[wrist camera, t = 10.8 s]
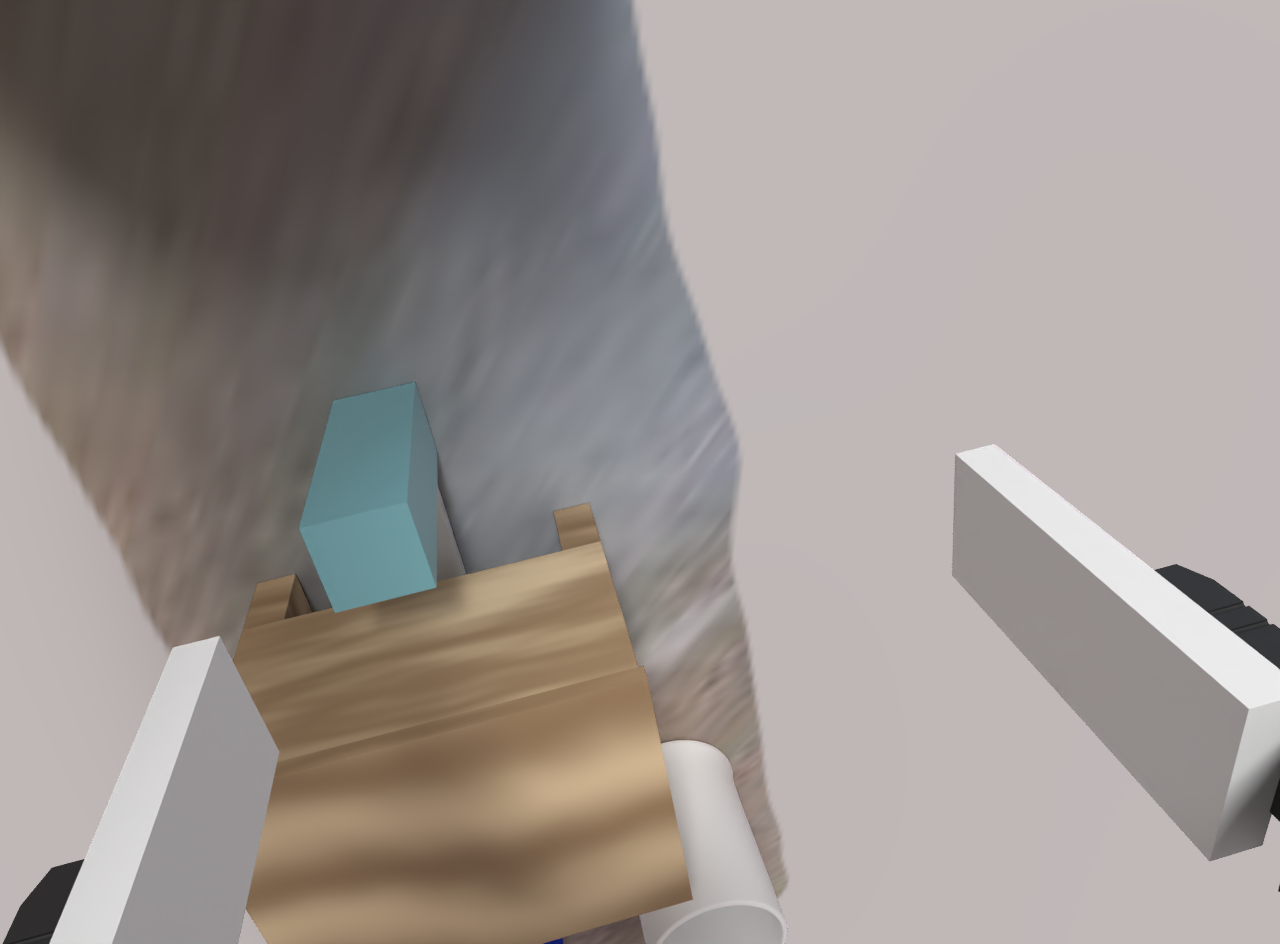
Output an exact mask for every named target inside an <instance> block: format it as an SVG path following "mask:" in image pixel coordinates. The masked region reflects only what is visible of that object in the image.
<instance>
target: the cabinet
mask: <svg viewBox="0 0 1280 944" xmlns="http://www.w3.org/2000/svg"><path fill="white" fill-rule="evenodd" d="M553 512H554V516H555V521H556V525H557V529H558V534H559V538H560V543H561V547H562V551H559V552H555V553H551V554H547V555H543V556H539V557H535V558H531V559H527V560H523V561H519V562H515V563H511V564H507V565H503V566H499V567H495V568H491V569H487V570H483V571H479V572H475V573H471V574H466V575H462V576H458V577H454V578H450V579H446V580H442V581H438V582H437V588H433V589H429V590H425V591H421V592H417V593H413V594H409V595H405V596H401V597H397V598H393V599H389V600H385V601H381V602H377V603H373V604H369V605H365V606H361V607H357V608H353V609H349V610H345V611H341V612H337V613H335V612H334V610H333V608H329V609H325V610H321V611H317V612H312V610H311V608H310V606H309V603H308V601H307V599H306V597H305V594H304V592H303V590H302V587H301V585H300V583H299V581H298V578H297V576H296V574H293V575H289V576H285V577H281V578H277V579H273V580H268V581H264V582H260V583H257V586H256V589H255V593H254V596H253V599H252V602H251V605H250V608H249V612H248V615H247V618H246V621H245V624H244V627H243V630H242V634H241V637H240V640H239V643H238V646H237V649H236V653H235V656H234V659H233V663H234V665H235V667H236V669H237V670H238V672H239V674H240V676H241V678H242V680H243V682H244V684H245V686H246V688H247V690H248V692H249V694H250V696H251V698H252V700H253V702H254V703H255V705H256V707H257V709H258V711H259V713H260V715H261V717H262V719H263V721H264V723H265V725H266V727H267V729H268V731H269V733H270V734H271V736H272V738H273V740H274V742H275V744H276V746H277V748H278V750H279V756H278V761H277V765H276V770H275V774H274V779H273V784H272V788H271V793H270V798H269V802H268V807H267V811H266V816H265V821H264V825H263V830H262V835H261V839H260V844H259V849H258V853H257V858H256V862H255V867H254V872H253V876H252V881H251V886H250V890H249V895H248V900H247V904H246V910H247V912H248V913H249V914H250V916H251V918H252V920H253V921H254V923H255V924H256V926H257V927H258V929H259V931H260V932H261V934H262V935H263V937H264V939H265V940H266V942H267V944H543V943H546V942H550V941H553V940H556V939H560V938H563V937H567V936H570V935H574V934H577V933H580V932H584V931H587V930H591V929H594V928H598V927H601V926H604V925H608V924H611V923H615V922H618V921H622V920H625V919H628V918H632V917H635V916H639V915H642V914H646V913H649V912H652V911H656V910H659V909H663V908H666V907H670V906H673V905H676V904H680V903H683V902H687V901H690V900H693V897H692V892H691V887H690V883H689V878H688V873H687V868H686V863H685V858H684V854H683V849H682V844H681V839H680V834H679V829H678V824H677V820H676V815H675V810H674V805H673V800H672V795H671V790H670V786H669V781H668V776H667V771H666V766H665V761H664V757H663V752H662V747H661V742H660V737H659V732H658V727H657V723H656V718H655V713H654V708H653V703H652V698H651V693H650V689H649V684H648V679H647V676H646V672H645V669H644V666H640V667H638V664H637V661H636V657H635V654H634V651H633V647H632V644H631V641H630V637H629V634H628V631H627V627H626V624H625V621H624V617H623V614H622V611H621V607H620V604H619V601H618V597H617V594H616V591H615V587H614V584H613V581H612V577H611V574H610V571H609V567H608V564H607V561H606V557H605V554H604V551H603V547H602V544H601V541H600V537H599V534H598V531H597V527H596V524H595V521H594V517H593V514H592V511H591V507H590V504H589V503H585V504H581V505H577V506H573V507H569V508H565V509H561V510H557V511H553Z"/></svg>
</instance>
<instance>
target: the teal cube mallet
mask: <svg viewBox="0 0 1280 944" xmlns="http://www.w3.org/2000/svg"><path fill="white" fill-rule="evenodd" d="M437 459H438V453H437V449H436V446H435V443H434V440H433V437H432V434H431V430H430V427H429V424H428V421H427V418H426V415H425V411H424V408H423V405H422V402H421V399H420V396H419V392H418V389H417V386H416V383H415V382H413V383H408V384H404V385H400V386H395V387H391V388H386V389H382V390H378V391H373V392H369V393H364V394H360V395H356V396H351V397H347V398H342V399H338V400H334V401H333V404H332V408H331V411H330V415H329V419H328V422H327V426H326V430H325V433H324V437H323V441H322V444H321V448H320V452H319V455H318V459H317V463H316V466H315V470H314V474H313V477H312V481H311V485H310V488H309V492H308V496H307V499H306V503H305V507H304V510H303V514H302V518H301V521H300V525H299V530H300V533H301V535H302V537H303V540H304V542H305V544H306V547H307V549H308V551H309V554H310V556H311V558H312V561H313V563H314V566H315V568H316V570H317V573H318V575H319V577H320V580H321V582H322V584H323V587H324V589H325V591H326V594H327V596H328V598H329V601H330V603H331V605H332V608H333V610H334V612H335V613H337V612H341V611H345V610H349V609H353V608H357V607H361V606H365V605H369V604H373V603H377V602H381V601H385V600H389V599H393V598H397V597H401V596H405V595H409V594H413V593H417V592H421V591H425V590H429V589H433V588H437V582H438V581H442V580H446V579H450V578H454V577H458V576H462V575H466V571H465V568H464V565H463V562H462V559H461V556H460V553H459V550H458V547H457V544H456V540H455V537H454V534H453V531H452V528H451V525H450V522H449V519H448V516H447V513H446V509H445V506H444V503H443V500H442V497H441V494H440V491H439V488H438V485H437Z"/></svg>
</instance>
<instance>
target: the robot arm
mask: <svg viewBox="0 0 1280 944" xmlns="http://www.w3.org/2000/svg"><path fill="white" fill-rule="evenodd" d="M953 526H954V527H953V565H952V566H953V567H952V568H953V569H952V575H953V577H954V578H955V579H956V580H957V581H958V582H959V583H960V585H961V586H962V587H963V588H964V589H965V590H966V591H967V592H968V593H969V595H971V597H972V598H973V599H974V600H975V601H976V602H977V603H978V604H979V606H980V607H981V608H982V609H983V610H984V611H985V612H986V613H987V615H988V616H989V617H990V618H991V619H992V620H993V621H994V622H995V623H996V624H997V626H998V627H999V628H1000V629H1001V630H1002V631H1003V632H1004V633H1005V634H1006V636H1007V637H1008V638H1009V639H1010V640H1011V641H1012V642H1013V643H1014V644H1015V646H1016V647H1017V648H1018V649H1019V650H1020V651H1021V652H1022V653H1023V655H1024V656H1025V657H1026V658H1027V659H1028V660H1029V661H1030V662H1031V663H1032V664H1033V665H1034V667H1035V668H1036V669H1037V670H1038V671H1039V672H1040V673H1041V674H1042V676H1043V677H1044V678H1045V679H1046V680H1047V681H1048V682H1049V683H1050V685H1051V686H1052V687H1053V688H1054V689H1055V690H1056V691H1057V692H1058V693H1059V694H1060V695H1061V697H1062V698H1063V699H1064V700H1065V701H1066V702H1067V703H1068V705H1069V706H1070V707H1071V708H1072V709H1073V710H1074V711H1075V712H1076V713H1077V715H1078V716H1079V717H1080V718H1081V719H1082V720H1083V721H1084V722H1085V723H1086V725H1088V727H1089V728H1090V729H1091V730H1092V731H1093V732H1094V733H1095V734H1096V736H1097V737H1098V738H1099V739H1100V740H1101V741H1102V742H1103V743H1104V745H1105V746H1106V747H1107V748H1108V749H1109V750H1110V751H1111V752H1112V753H1113V755H1114V756H1115V757H1116V758H1117V759H1118V760H1119V761H1120V762H1121V763H1122V765H1123V766H1124V767H1125V768H1126V769H1127V770H1128V771H1129V772H1130V773H1131V775H1132V776H1133V777H1134V778H1135V779H1136V780H1137V781H1138V782H1139V783H1140V784H1141V786H1142V787H1143V788H1144V789H1145V790H1146V791H1147V792H1148V793H1149V794H1150V796H1151V797H1152V798H1153V799H1154V800H1155V801H1156V802H1157V803H1158V804H1159V806H1160V807H1161V808H1162V809H1163V810H1164V811H1165V812H1166V813H1167V814H1168V815H1169V817H1170V818H1171V819H1172V820H1173V821H1174V822H1175V823H1176V825H1177V826H1178V827H1179V828H1180V829H1181V830H1182V831H1183V832H1184V833H1185V835H1186V836H1187V837H1188V838H1189V839H1190V840H1191V841H1192V842H1193V843H1194V845H1195V846H1196V847H1197V848H1198V849H1199V850H1200V851H1201V852H1202V853H1203V854H1204V856H1205V857H1206V858H1207V859H1208V860H1209V861H1212V860H1215V859H1219V858H1222V857H1226V856H1229V855H1232V854H1235V853H1238V852H1242V851H1245V850H1248V849H1252V848H1255V847H1258V846H1261V845H1262V844H1263V841H1264V838H1265V834H1266V831H1267V828H1268V824H1269V821H1270V818H1271V814H1272V815H1274V816H1275V817H1276V818H1277V819H1278V820H1279V821H1280V628H1278V627H1277V626H1276V625H1274V624H1271V625H1270V624H1268V622H1267V619H1266V618H1265V617H1263V616H1262V615H1261V614H1259V613H1258V612H1257V611H1255V610H1254V609H1253V608H1251V607H1250V606H1247V607H1245V605H1244V604H1243V601H1242V600H1240V599H1239V598H1238V597H1236V596H1235V595H1234V594H1232V593H1231V592H1229V591H1228V590H1227V589H1226V588H1224V587H1223V586H1221V585H1220V584H1219V583H1217V582H1216V581H1215V580H1213V579H1211V578H1208V577H1205V576H1203V575H1201V574H1199V573H1196V572H1194V571H1191V570H1189V569H1187V568H1184V567H1182V566H1179V565H1177V564H1175V565H1171V566H1168V567H1164V568H1160V569H1156V570H1153V569H1152V568H1151V567H1149V566H1148V565H1147V564H1145V563H1144V562H1143V561H1142V560H1141V559H1139V558H1138V557H1137V556H1135V555H1134V554H1133V553H1132V552H1130V551H1129V550H1128V549H1127V548H1125V547H1124V546H1123V545H1122V544H1120V543H1119V542H1118V541H1116V540H1115V539H1114V538H1113V537H1111V536H1110V535H1109V534H1107V533H1106V532H1105V531H1104V530H1103V529H1101V528H1100V527H1099V526H1098V525H1096V524H1095V523H1094V522H1092V521H1091V520H1090V519H1089V518H1087V517H1086V516H1085V515H1084V514H1082V513H1081V512H1079V510H1077V509H1076V508H1075V507H1073V506H1072V505H1071V504H1069V503H1068V502H1067V501H1066V500H1065V499H1063V498H1062V497H1061V496H1060V495H1058V494H1057V493H1056V492H1054V491H1053V490H1052V489H1051V488H1049V487H1048V486H1047V485H1046V484H1044V483H1043V482H1042V481H1040V480H1039V479H1038V478H1037V477H1035V476H1034V475H1033V474H1032V473H1030V472H1029V471H1028V470H1027V469H1025V468H1024V467H1023V466H1022V465H1020V464H1019V463H1018V462H1016V461H1015V460H1014V459H1013V458H1011V457H1010V456H1009V455H1008V454H1006V453H1005V452H1004V451H1002V450H1001V449H1000V448H999V447H997V446H996V445H995V444H994V445H989V446H985V447H981V448H977V449H973V450H969V451H965V452H961V453H957V454H955V482H954V523H953ZM278 756H279V750H278V748H277V746H276V744H275V742H274V740H273V738H272V736H271V734H270V733H269V731H268V729H267V727H266V725H265V723H264V721H263V719H262V717H261V715H260V713H259V711H258V709H257V707H256V705H255V703H254V702H253V700H252V698H251V696H250V694H249V692H248V690H247V688H246V686H245V684H244V682H243V680H242V678H241V676H240V674H239V672H238V670H237V669H236V667H235V665H234V663H233V661H232V659H231V657H230V655H229V653H228V651H227V649H226V647H225V645H224V643H223V641H222V639H221V638H220V636H218V637H214V638H210V639H206V640H202V641H198V642H194V643H190V644H186V645H182V646H177V647H173V648H172V651H171V653H170V656H169V658H168V660H167V663H166V665H165V668H164V670H163V672H162V675H161V677H160V680H159V682H158V684H157V687H156V689H155V692H154V694H153V696H152V699H151V701H150V704H149V706H148V708H147V711H146V713H145V716H144V718H143V720H142V723H141V725H140V728H139V730H138V732H137V735H136V737H135V740H134V742H133V744H132V747H131V749H130V752H129V754H128V757H127V759H126V761H125V764H124V766H123V768H122V771H121V773H120V775H119V778H118V780H117V783H116V785H115V787H114V790H113V792H112V795H111V797H110V799H109V802H108V804H107V807H106V809H105V811H104V814H103V816H102V819H101V821H100V823H99V826H98V828H97V831H96V833H95V836H94V838H93V840H92V843H91V845H90V847H89V850H88V852H87V855H86V857H85V859H83V860H79V861H75V862H72V863H68V864H64V865H60V866H57V867H53V868H51V870H50V871H49V872H48V873H47V874H46V876H45V877H44V878H43V879H42V880H41V882H40V883H39V884H38V885H37V886H36V888H35V889H34V890H33V891H32V892H31V894H30V895H29V896H28V897H27V899H26V900H25V901H24V902H23V904H22V905H21V906H20V908H19V910H18V912H17V914H16V917H15V919H14V921H13V923H12V925H11V927H10V929H9V931H8V934H7V936H6V938H5V940H4V942H3V944H238V941H239V936H240V932H241V927H242V923H243V918H244V913H245V909H246V904H247V900H248V895H249V890H250V886H251V881H252V876H253V872H254V867H255V862H256V858H257V853H258V849H259V844H260V839H261V835H262V830H263V825H264V821H265V816H266V811H267V807H268V802H269V798H270V793H271V788H272V784H273V779H274V774H275V770H276V765H277V761H278ZM1279 892H1280V886H1279Z"/></svg>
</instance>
